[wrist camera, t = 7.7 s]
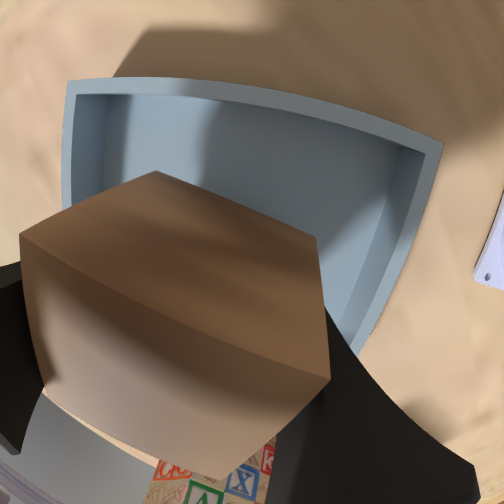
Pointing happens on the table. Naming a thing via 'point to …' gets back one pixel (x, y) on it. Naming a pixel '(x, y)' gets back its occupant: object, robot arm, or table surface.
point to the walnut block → (176, 320)
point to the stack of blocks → (213, 483)
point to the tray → (266, 170)
